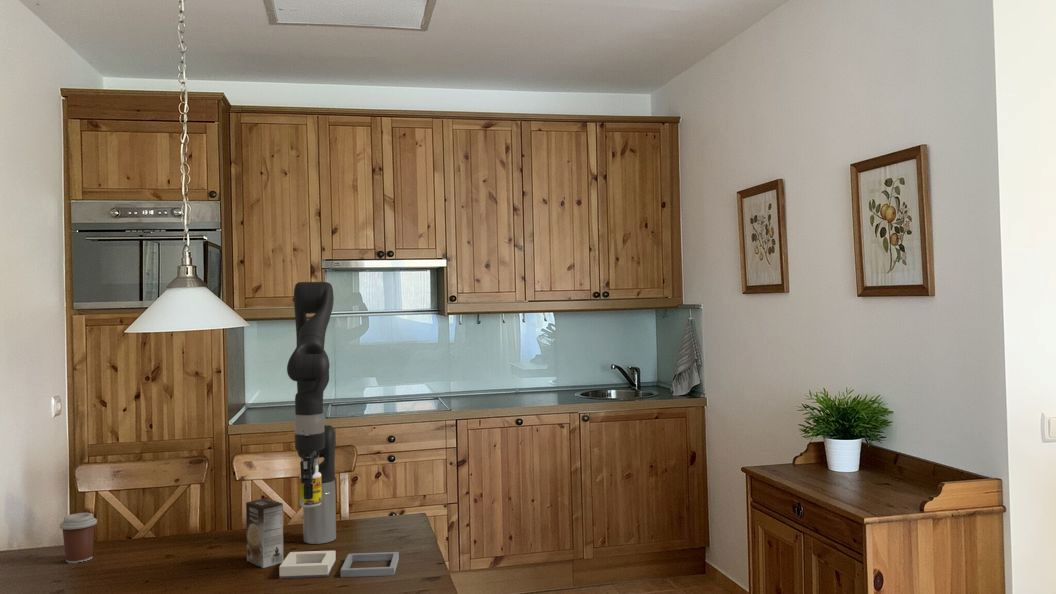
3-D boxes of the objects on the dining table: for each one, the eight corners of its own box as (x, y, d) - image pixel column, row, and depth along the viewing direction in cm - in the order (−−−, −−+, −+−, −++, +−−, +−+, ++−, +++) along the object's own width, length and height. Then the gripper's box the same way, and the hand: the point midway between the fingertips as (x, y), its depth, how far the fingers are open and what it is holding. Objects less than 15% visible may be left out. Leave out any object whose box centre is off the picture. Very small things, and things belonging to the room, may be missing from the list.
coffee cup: (52, 562, 224) (51, 518, 224) (84, 552, 232) (83, 510, 232) (73, 567, 220) (73, 522, 220) (105, 557, 228) (104, 513, 228)
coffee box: (245, 561, 222) (244, 501, 222) (267, 555, 227) (266, 497, 227) (263, 568, 216) (262, 507, 216) (285, 562, 221) (284, 502, 221)
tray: (348, 560, 222) (348, 553, 222) (398, 558, 223) (398, 551, 223) (340, 577, 209) (340, 570, 209) (394, 575, 209) (393, 568, 209)
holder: (290, 563, 220) (289, 552, 220) (335, 561, 221) (335, 550, 221) (279, 578, 208) (279, 566, 208) (327, 576, 209) (327, 565, 209)
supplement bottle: (304, 509, 211) (303, 469, 211) (296, 504, 216) (296, 465, 215) (325, 505, 214) (324, 466, 214) (317, 501, 219) (316, 462, 219)
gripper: (300, 426, 221) (301, 489, 222) (289, 436, 207) (290, 503, 207) (328, 426, 222) (329, 488, 222) (319, 435, 208) (320, 502, 208)
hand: (310, 495), depth 215 cm, fingers closed on supplement bottle, 5 cm apart
